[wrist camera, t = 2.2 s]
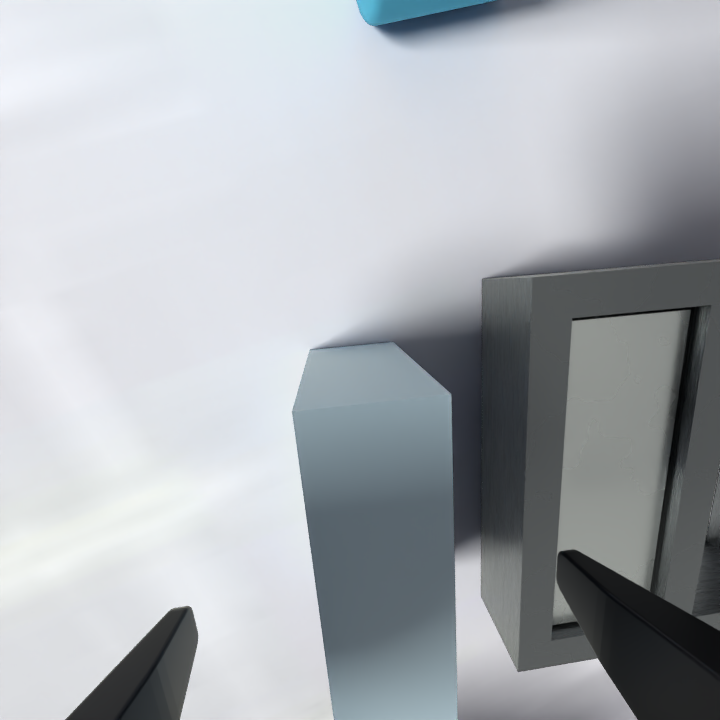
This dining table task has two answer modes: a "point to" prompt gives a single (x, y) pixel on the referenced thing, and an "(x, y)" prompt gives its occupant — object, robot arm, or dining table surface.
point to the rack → (599, 444)
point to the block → (380, 530)
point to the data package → (407, 9)
